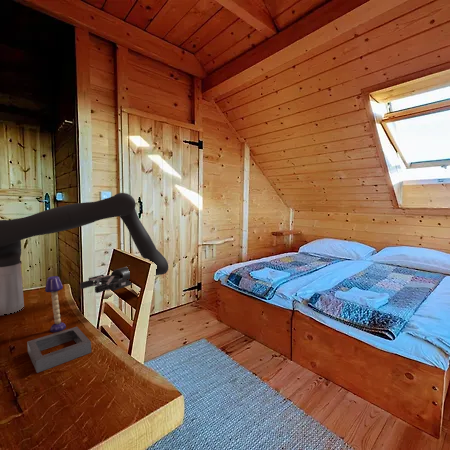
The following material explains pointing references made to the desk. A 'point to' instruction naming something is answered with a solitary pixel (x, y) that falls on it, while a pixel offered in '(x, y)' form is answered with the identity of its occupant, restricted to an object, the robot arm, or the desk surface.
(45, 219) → the robot arm
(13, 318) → the desk surface
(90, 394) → the desk surface
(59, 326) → the toy lamp
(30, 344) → the square frame
